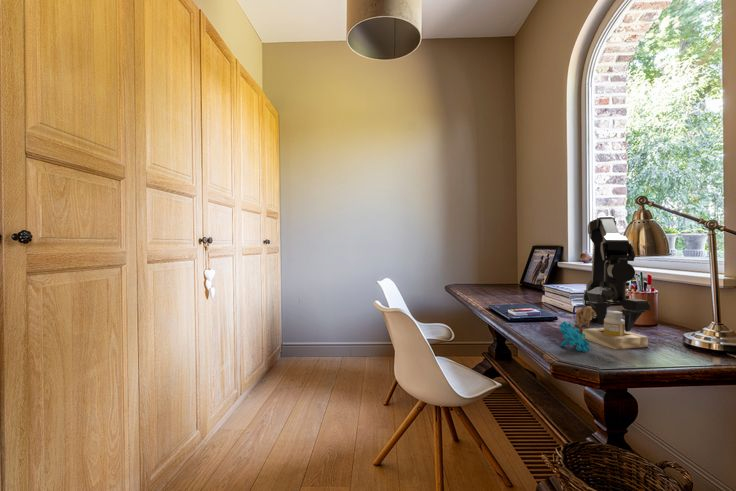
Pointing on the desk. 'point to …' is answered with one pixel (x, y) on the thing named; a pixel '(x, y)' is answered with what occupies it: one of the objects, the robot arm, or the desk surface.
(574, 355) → the desk surface
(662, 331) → the desk surface
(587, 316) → the lion figurine
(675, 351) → the desk surface
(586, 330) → the beige square frame
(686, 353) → the desk surface
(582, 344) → the teal lumpy piece
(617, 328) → the supplement bottle
